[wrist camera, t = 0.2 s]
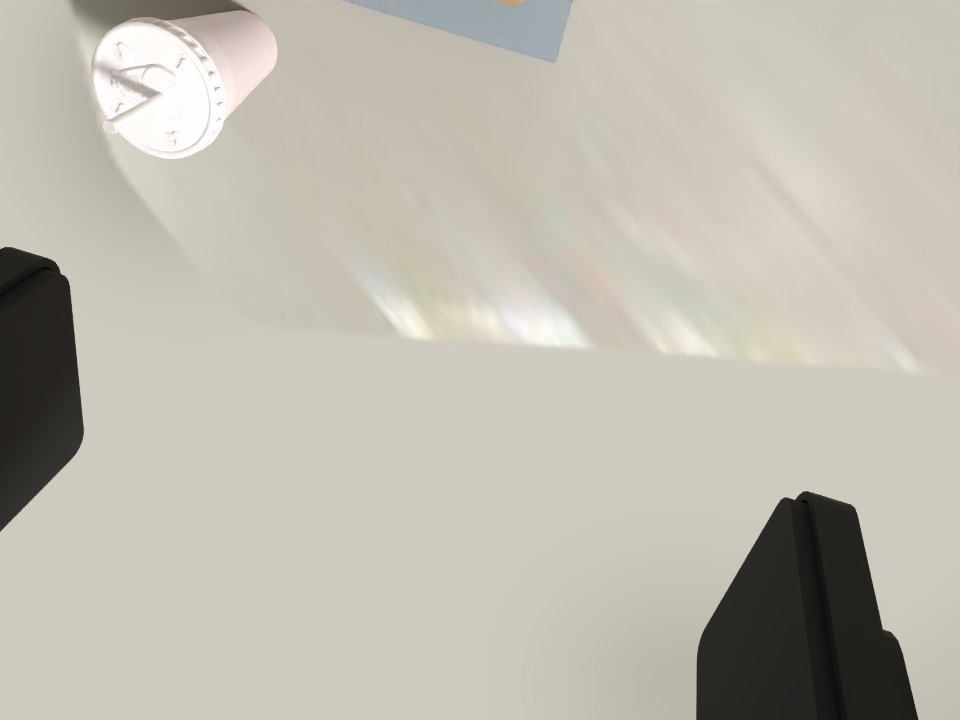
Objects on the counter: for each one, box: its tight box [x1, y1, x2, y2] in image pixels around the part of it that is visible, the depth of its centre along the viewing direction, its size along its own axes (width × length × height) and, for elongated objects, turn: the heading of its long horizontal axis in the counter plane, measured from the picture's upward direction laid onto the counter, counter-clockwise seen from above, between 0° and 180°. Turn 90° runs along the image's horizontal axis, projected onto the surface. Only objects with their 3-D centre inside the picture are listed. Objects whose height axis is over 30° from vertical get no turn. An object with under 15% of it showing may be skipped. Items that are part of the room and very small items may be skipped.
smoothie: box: [92, 10, 277, 159], centre depth 41 cm, size 6×6×14 cm
